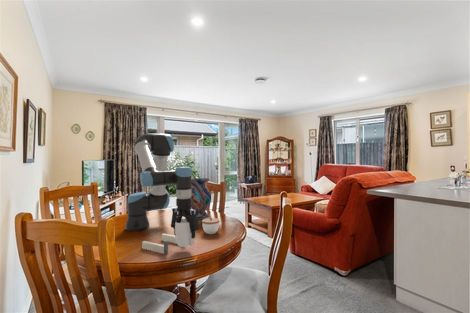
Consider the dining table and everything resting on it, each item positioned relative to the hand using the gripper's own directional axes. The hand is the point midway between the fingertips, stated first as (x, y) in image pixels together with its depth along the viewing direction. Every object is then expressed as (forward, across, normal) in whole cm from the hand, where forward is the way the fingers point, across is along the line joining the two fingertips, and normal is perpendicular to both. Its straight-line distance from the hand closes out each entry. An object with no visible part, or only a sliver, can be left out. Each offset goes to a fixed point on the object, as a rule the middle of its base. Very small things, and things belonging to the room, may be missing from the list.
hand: (184, 243), depth 119 cm
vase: (+4, -35, +58) cm, 68 cm away
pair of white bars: (+4, -14, 0) cm, 15 cm away
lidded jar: (+4, -5, +30) cm, 31 cm away
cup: (+1, 0, 0) cm, 1 cm away
